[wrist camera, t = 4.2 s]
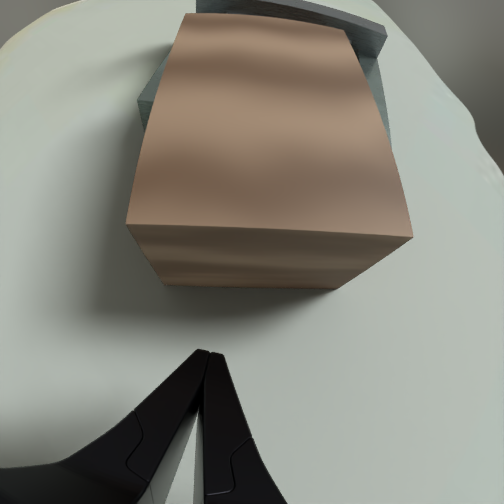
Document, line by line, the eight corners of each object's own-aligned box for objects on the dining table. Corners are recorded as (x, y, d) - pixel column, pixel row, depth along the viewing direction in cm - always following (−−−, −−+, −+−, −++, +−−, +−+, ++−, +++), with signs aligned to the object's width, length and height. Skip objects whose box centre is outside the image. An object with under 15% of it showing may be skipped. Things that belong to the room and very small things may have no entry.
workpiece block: (336, 289, 20) (413, 237, 11) (164, 285, 18) (125, 223, 10) (313, 110, 25) (343, 30, 17) (188, 101, 24) (185, 13, 16)
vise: (369, 184, 23) (477, 37, 9) (145, 136, 22) (112, -43, 8) (361, 72, 28) (410, -35, 14) (203, 37, 28) (209, -79, 14)
